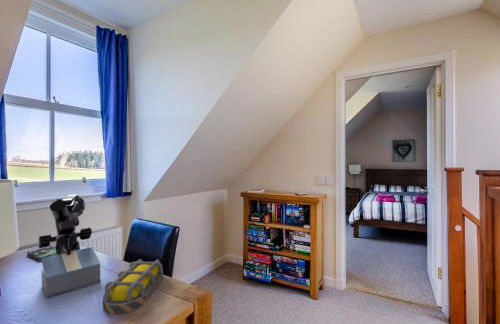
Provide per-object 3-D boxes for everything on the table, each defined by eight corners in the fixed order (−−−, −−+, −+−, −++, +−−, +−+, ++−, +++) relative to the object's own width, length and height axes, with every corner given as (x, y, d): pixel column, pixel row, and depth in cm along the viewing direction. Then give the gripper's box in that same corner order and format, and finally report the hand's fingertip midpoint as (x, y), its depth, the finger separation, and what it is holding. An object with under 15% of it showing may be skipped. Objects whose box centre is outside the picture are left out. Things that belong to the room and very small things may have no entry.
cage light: (167, 256, 118) (135, 291, 88) (167, 274, 118) (136, 315, 88) (135, 256, 119) (92, 290, 89) (135, 273, 119) (93, 314, 89)
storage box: (42, 286, 107) (41, 269, 107) (92, 272, 120) (91, 257, 120) (46, 298, 98) (46, 280, 98) (100, 281, 111) (100, 265, 111)
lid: (41, 260, 107) (41, 257, 106) (92, 248, 119) (92, 246, 119) (46, 279, 98) (46, 277, 98) (100, 265, 111) (100, 263, 110)
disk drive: (26, 257, 139) (39, 263, 131) (26, 252, 139) (39, 257, 131) (49, 251, 148) (62, 255, 140) (49, 246, 148) (62, 250, 140)
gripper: (38, 216, 107) (42, 250, 100) (90, 209, 120) (97, 239, 113) (36, 231, 113) (40, 264, 106) (86, 223, 126) (93, 252, 119)
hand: (69, 254), depth 111 cm, fingers closed, pressing on lid
